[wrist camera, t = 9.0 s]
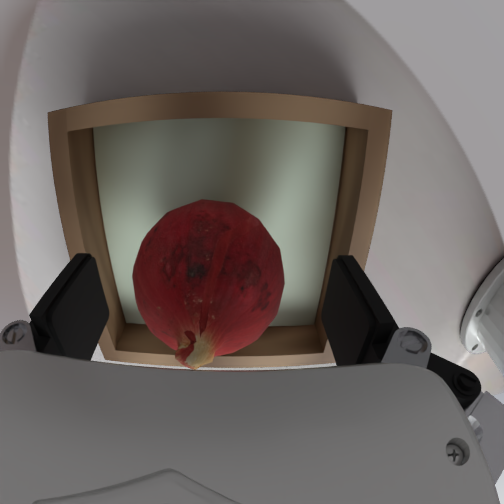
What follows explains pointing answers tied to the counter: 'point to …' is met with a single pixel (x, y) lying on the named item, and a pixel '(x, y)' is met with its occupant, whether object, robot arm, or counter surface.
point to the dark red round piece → (208, 280)
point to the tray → (221, 198)
